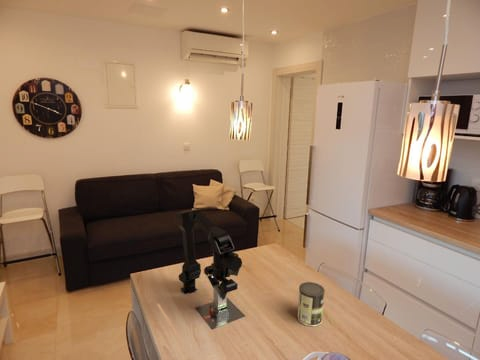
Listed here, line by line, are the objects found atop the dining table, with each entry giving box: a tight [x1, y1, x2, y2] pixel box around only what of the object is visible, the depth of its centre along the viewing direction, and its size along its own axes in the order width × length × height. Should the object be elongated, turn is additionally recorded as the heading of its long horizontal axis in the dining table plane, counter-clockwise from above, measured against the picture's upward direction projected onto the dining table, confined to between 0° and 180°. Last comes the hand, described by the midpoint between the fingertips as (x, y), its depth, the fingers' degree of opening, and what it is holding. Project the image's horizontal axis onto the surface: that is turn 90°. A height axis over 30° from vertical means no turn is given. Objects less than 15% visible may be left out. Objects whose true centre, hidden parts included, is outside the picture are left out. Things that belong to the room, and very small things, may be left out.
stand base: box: [194, 296, 246, 330], centre depth 133 cm, size 16×16×4 cm
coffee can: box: [297, 281, 326, 328], centre depth 130 cm, size 10×10×14 cm
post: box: [212, 282, 227, 309], centre depth 131 cm, size 4×4×9 cm
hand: (220, 296), depth 131 cm, fingers open, 5 cm apart
